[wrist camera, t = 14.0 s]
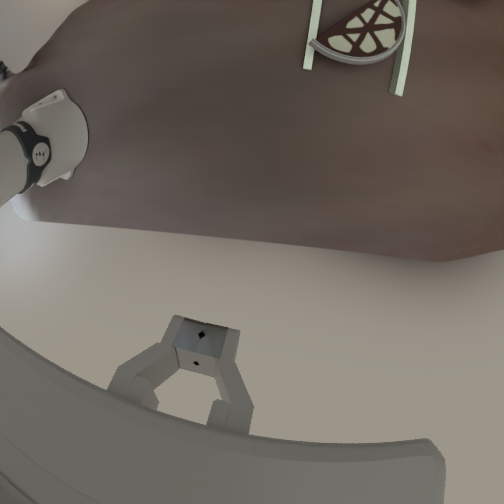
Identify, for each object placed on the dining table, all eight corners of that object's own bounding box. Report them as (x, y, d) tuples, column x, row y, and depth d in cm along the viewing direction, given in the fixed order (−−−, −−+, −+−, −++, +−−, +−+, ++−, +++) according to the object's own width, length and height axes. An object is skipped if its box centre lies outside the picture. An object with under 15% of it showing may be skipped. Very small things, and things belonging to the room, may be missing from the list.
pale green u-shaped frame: (302, 69, 29) (303, 68, 27) (318, -36, 18) (319, -44, 16) (395, 95, 28) (401, 96, 26) (410, -9, 17) (417, -13, 15)
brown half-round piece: (338, 84, 29) (352, 86, 21) (306, 52, 27) (308, 41, 19) (401, 39, 23) (431, 30, 15) (370, 6, 21) (391, -14, 13)
